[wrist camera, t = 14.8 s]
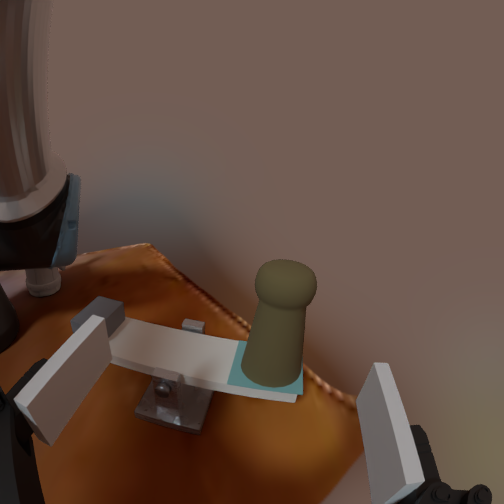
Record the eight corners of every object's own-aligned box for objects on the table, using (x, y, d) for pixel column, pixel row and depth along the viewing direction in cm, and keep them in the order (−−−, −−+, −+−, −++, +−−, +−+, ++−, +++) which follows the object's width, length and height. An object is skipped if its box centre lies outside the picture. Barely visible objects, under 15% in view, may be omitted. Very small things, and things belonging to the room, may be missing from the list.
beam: (73, 349, 27) (66, 322, 26) (103, 318, 34) (99, 293, 32) (300, 403, 25) (308, 376, 24) (300, 358, 32) (306, 332, 30)
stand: (135, 417, 26) (125, 374, 23) (171, 352, 37) (169, 311, 35) (199, 435, 25) (198, 394, 23) (223, 363, 36) (226, 321, 34)
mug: (20, 292, 43) (9, 231, 39) (56, 269, 54) (50, 215, 50) (45, 301, 42) (34, 236, 38) (81, 275, 53) (76, 218, 49)
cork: (228, 360, 28) (237, 257, 25) (273, 342, 32) (289, 248, 28) (267, 396, 24) (288, 287, 20) (313, 371, 28) (339, 272, 24)
